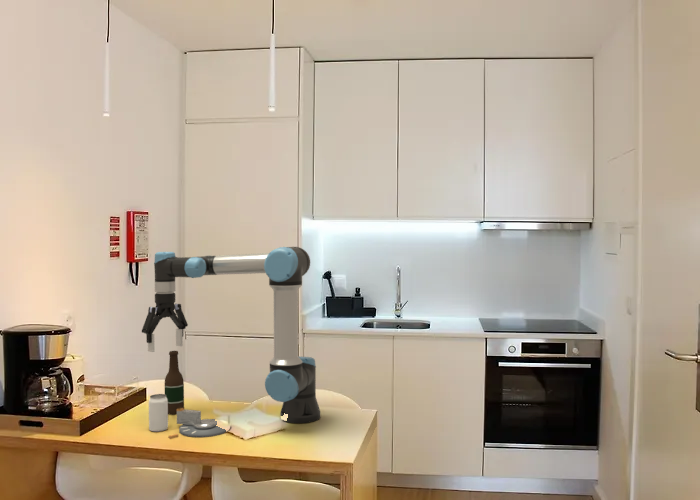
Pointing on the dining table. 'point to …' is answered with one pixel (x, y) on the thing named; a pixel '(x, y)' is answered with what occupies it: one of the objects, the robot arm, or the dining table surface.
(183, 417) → the dial
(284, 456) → the dining table surface
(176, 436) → the small orange block
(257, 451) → the dining table surface
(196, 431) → the dial plate
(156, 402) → the can
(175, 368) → the beer bottle
